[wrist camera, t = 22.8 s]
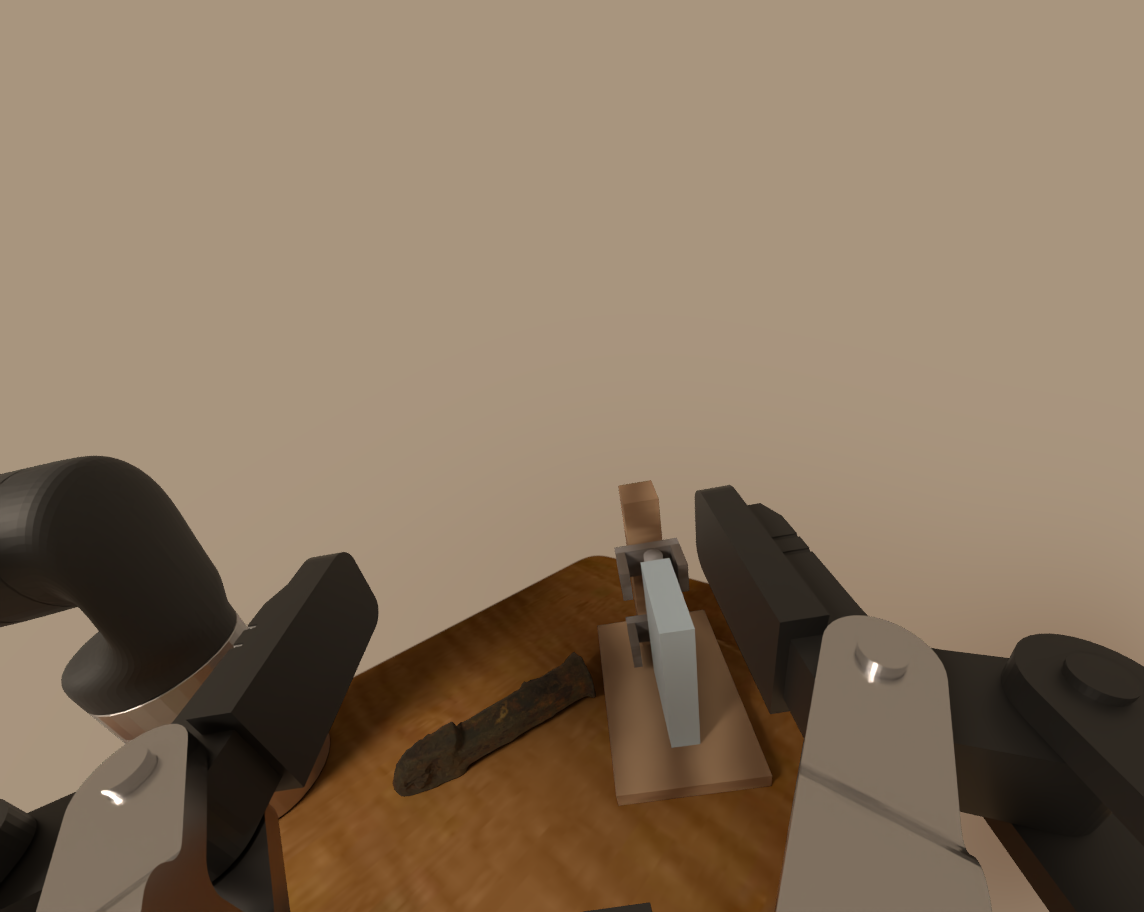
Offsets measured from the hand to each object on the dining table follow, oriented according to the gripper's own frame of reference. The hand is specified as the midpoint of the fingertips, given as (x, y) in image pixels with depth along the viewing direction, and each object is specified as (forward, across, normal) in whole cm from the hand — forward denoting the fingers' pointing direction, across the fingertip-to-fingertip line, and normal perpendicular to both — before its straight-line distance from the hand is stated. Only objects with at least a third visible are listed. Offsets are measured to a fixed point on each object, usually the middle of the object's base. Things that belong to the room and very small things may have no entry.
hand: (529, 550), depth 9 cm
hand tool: (+14, -10, -34) cm, 38 cm away
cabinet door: (+14, +6, -32) cm, 36 cm away
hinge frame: (+16, +6, -34) cm, 38 cm away
